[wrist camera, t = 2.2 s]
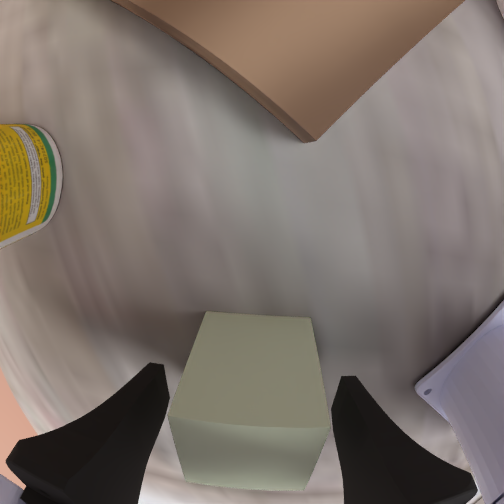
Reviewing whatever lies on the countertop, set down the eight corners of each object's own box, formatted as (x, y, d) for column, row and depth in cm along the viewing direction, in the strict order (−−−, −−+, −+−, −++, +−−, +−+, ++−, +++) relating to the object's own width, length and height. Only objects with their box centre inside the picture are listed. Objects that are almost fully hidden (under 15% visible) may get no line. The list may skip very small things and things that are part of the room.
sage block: (310, 317, 13) (330, 427, 7) (297, 389, 14) (304, 490, 8) (206, 310, 13) (167, 415, 7) (209, 383, 14) (185, 481, 9)
